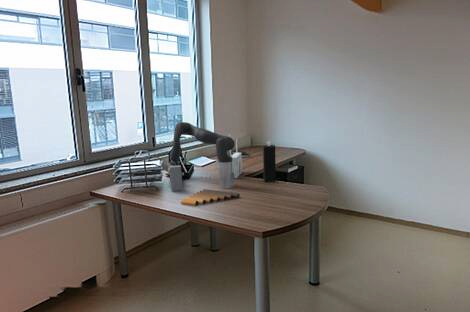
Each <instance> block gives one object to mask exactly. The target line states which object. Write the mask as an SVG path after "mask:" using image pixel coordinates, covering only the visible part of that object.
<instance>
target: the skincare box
mask: <svg viewBox="0 0 470 312" xmlns="http://www.w3.org/2000/svg"><path fill="white" fill-rule="evenodd" d="M230 156H231V155H230ZM241 156H242V153H234V154H233V155H232V156H231V157H232V166H233V172H234V178H236V179H238V178H239V176H240V175H241V174H242V171H243V169H242V162H243V160H242V159H243V158H242V157H241Z"/></svg>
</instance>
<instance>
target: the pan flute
mask: <svg viewBox="0 0 470 312" xmlns="http://www.w3.org/2000/svg"><path fill="white" fill-rule="evenodd" d="M240 197H241V195H240V193H239V192H233V191H232V192H230V191H223V190H222V191H221V190H214V189H207V188H204V189H202V190H199V191H196V193H192V195H191V194H189V196H186V197H185V198H182V199H181V201H180V204H181V205H185V206H186V205H187V206H194V207H197V206H199V205H203V206H204V205H205V204H213V202H214V203H218V202H220V201H223V202H225V201H226V200H230V201H231V200H234V199H240Z"/></svg>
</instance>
